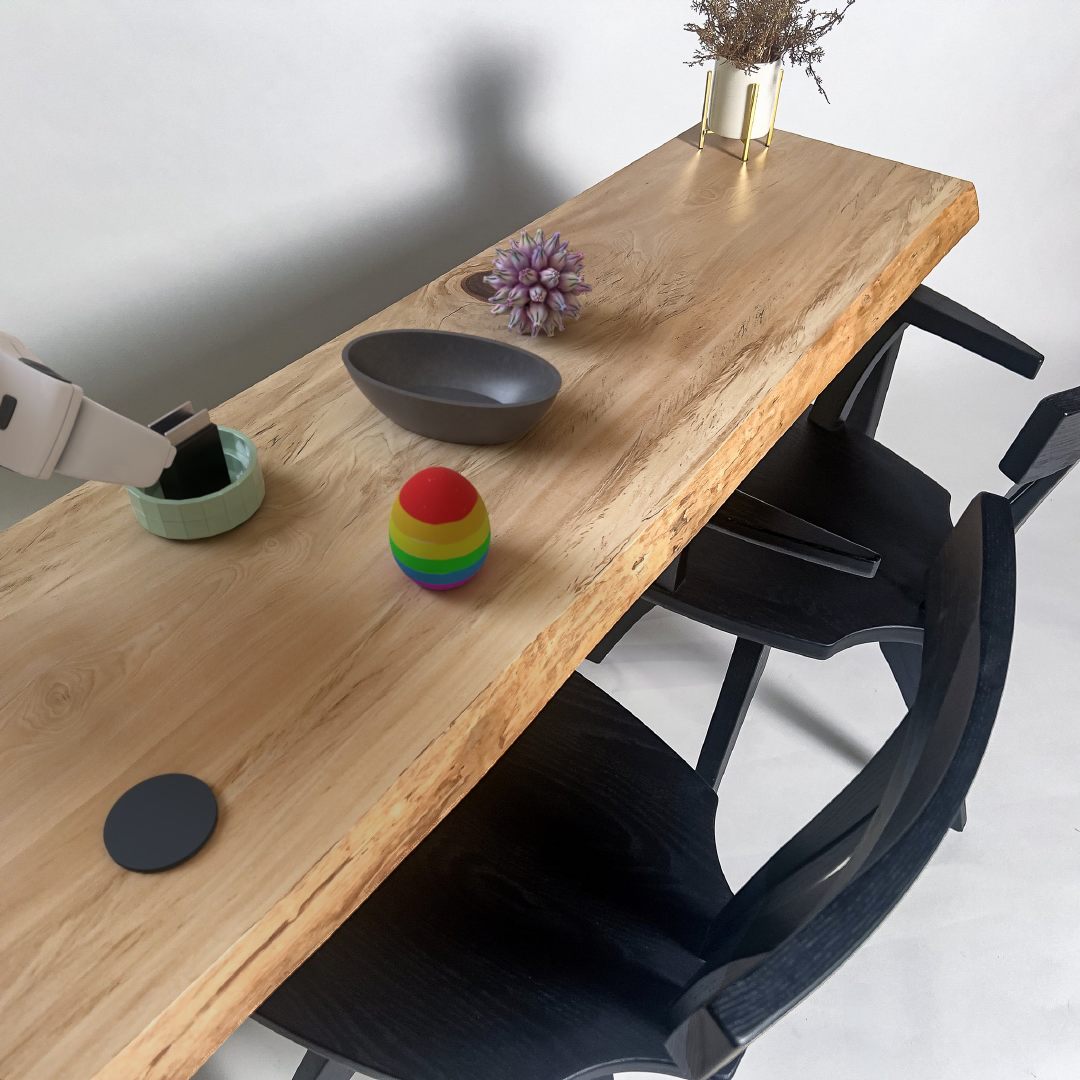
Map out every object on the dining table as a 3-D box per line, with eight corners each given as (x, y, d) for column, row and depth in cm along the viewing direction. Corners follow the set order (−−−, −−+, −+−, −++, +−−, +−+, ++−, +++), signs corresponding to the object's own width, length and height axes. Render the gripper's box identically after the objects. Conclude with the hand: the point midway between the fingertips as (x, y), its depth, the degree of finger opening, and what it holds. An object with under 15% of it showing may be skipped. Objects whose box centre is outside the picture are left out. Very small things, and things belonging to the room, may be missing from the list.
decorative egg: (372, 569, 80) (359, 474, 74) (443, 522, 85) (437, 428, 78) (440, 618, 76) (433, 522, 70) (511, 566, 81) (511, 471, 74)
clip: (190, 518, 84) (166, 438, 78) (166, 506, 85) (141, 425, 79) (233, 488, 87) (213, 408, 81) (209, 476, 88) (188, 397, 82)
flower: (585, 322, 114) (590, 356, 104) (483, 316, 114) (478, 350, 103) (594, 221, 108) (600, 247, 98) (486, 215, 108) (482, 240, 98)
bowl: (538, 478, 90) (539, 423, 85) (325, 430, 95) (316, 376, 90) (576, 408, 98) (579, 355, 94) (379, 368, 103) (373, 315, 99)
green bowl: (185, 563, 80) (173, 522, 77) (110, 506, 86) (95, 466, 83) (292, 498, 87) (284, 458, 84) (215, 448, 92) (205, 409, 89)
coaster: (146, 895, 59) (144, 891, 59) (83, 828, 62) (81, 824, 62) (240, 818, 63) (239, 813, 63) (176, 759, 66) (174, 754, 66)
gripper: (-143, 382, 68) (27, 428, 80) (44, 486, 60) (200, 518, 72) (-110, 298, 67) (56, 357, 80) (83, 391, 59) (233, 440, 72)
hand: (126, 434), depth 76 cm, fingers open, 8 cm apart
